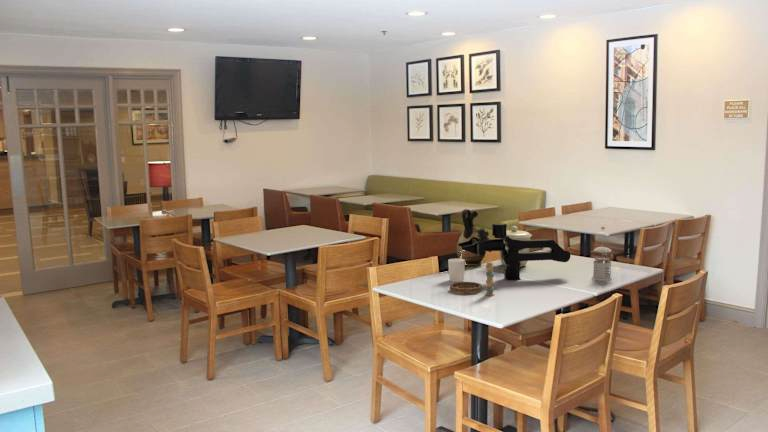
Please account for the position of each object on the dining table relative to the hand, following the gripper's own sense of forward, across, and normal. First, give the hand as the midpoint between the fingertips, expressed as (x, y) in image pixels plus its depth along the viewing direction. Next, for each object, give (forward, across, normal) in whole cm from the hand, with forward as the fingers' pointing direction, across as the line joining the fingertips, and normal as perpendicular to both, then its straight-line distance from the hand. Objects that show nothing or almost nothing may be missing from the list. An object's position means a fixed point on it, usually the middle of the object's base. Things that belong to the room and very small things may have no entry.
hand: (459, 246), depth 318 cm
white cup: (+2, 0, +17) cm, 17 cm away
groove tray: (+1, +20, +17) cm, 26 cm away
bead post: (-8, +29, +17) cm, 35 cm away
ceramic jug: (-12, -36, +17) cm, 41 cm away
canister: (-34, -30, +17) cm, 48 cm away
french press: (-67, +5, +17) cm, 70 cm away
